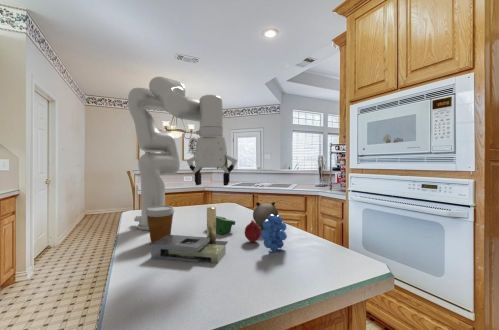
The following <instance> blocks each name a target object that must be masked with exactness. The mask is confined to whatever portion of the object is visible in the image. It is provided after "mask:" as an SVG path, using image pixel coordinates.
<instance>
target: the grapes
mask: <svg viewBox="0 0 499 330" xmlns="http://www.w3.org/2000/svg"><path fill="white" fill-rule="evenodd" d="M263 227H264V229H266V230H262V231H261V236H260V238H262V239H263V240H264V241H263V246H264V247H265V248H266V249H270V251H271V252H277V251H278V249H282V248H283V247H284V246H285V245H284V241H285V240H286V239H287V238H288V236H287V233H286V232H285V230H287V225H286V223H285V222H284V221H283V218H282V216H281V215H279V214H278V215H277V216H275V215H273V214H271V215H269V216H268V220H265V221H264V222H263Z"/></svg>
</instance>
